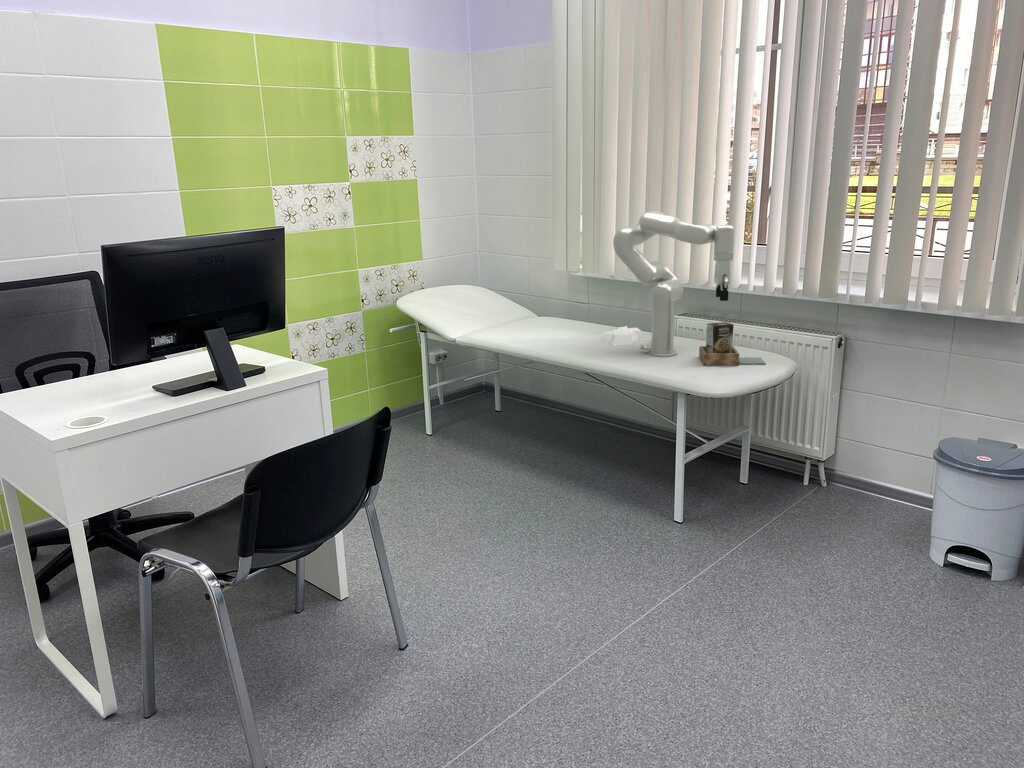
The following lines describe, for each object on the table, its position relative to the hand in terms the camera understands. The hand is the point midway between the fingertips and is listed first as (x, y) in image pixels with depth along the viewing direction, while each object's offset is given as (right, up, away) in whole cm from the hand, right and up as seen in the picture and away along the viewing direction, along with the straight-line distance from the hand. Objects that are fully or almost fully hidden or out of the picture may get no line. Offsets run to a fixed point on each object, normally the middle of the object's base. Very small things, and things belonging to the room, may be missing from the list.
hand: (721, 298), depth 308 cm
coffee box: (+1, -26, +7) cm, 27 cm away
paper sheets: (-33, -15, +50) cm, 62 cm away
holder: (+1, -25, +7) cm, 27 cm away
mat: (+13, -26, +5) cm, 29 cm away
